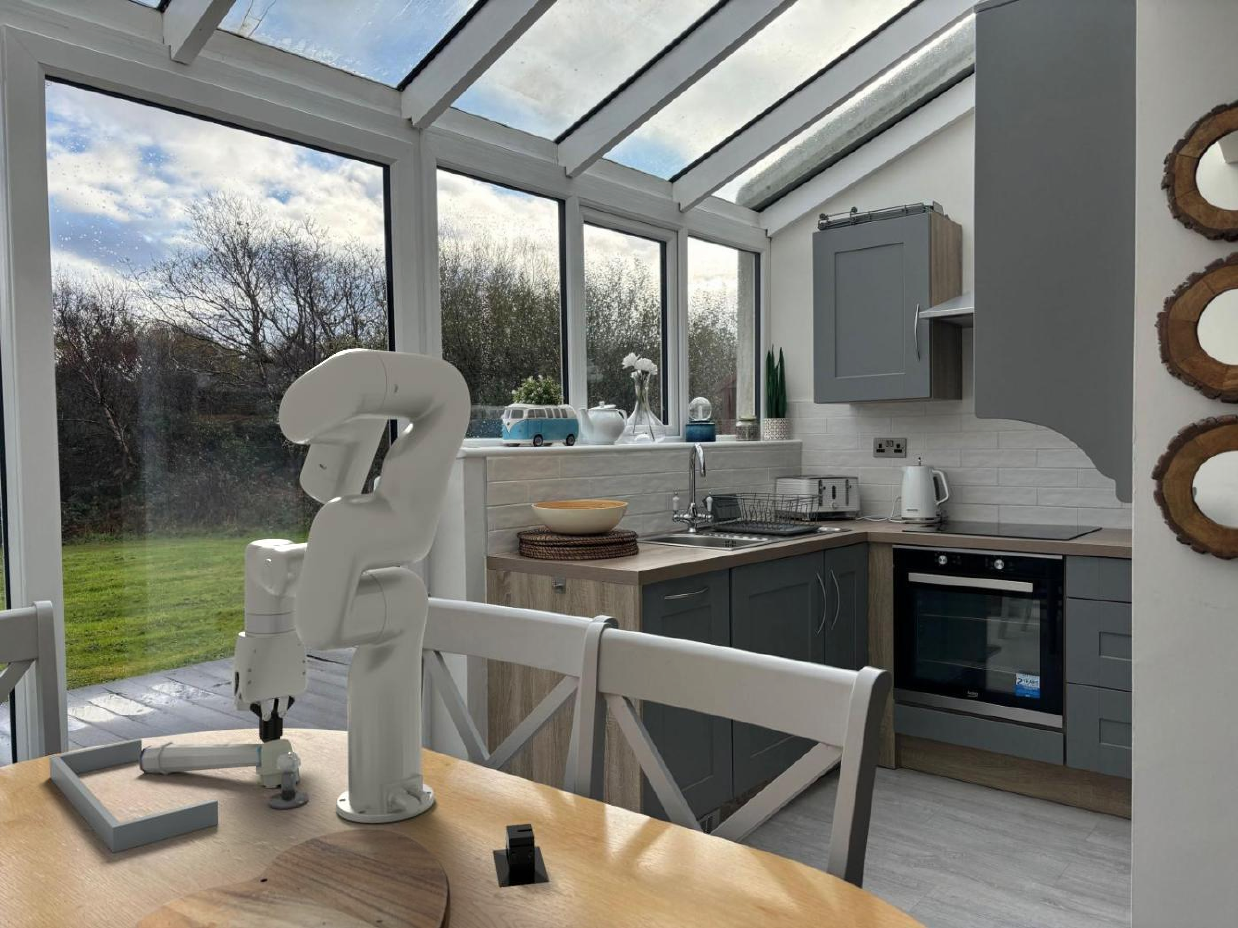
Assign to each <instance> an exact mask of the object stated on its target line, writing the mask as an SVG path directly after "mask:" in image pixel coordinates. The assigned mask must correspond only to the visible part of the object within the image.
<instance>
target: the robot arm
mask: <svg viewBox="0 0 1238 928" xmlns="http://www.w3.org/2000/svg"><path fill="white" fill-rule="evenodd" d="M471 409H472V407H471V396H470V391H469V387H468V384H467V382H466V380H465V378H464V376H463V374H462V373H461V372H460V370H458V369H457V367H456V366H455V365H453V364H452V363H450V362H448V361H446V360H444V359H442V358H439V357H437V356H433V355H427V354H422V353H414V352H402V351H389V350H376V349H370V348H369V349H368V348H354V349H352V348H351V349H346V350H342V351H339V352H337V353H336V354H333V355H332V356H330V357H329V358H327V359H325V360H324V361H323V362H321V363H319V364H317V365H316V366H314V367H313V368H312V369H310V370H309V371H306V372H305V373H304V374H302V375H301V376H300V377H298V378H297V379H296V380H294V382H293V383H291V385H290V386H289V387H288V388H287V390H286V391H285V393H284V395H283V397H282V399H281V403H280V405H279V411H278V423H279V428H280V430H281V432H282V434H283V435H284V437H285V438H286V439H287V440H289V441H290V442H292V443H293V444H298V445H310V446H309V448H308V453H307V455H306V457H305V460H304V464H303V466H302V469H301V472H300V476H299V482H300V486H301V487H302V490H304V492H305V493H306V494H307V495H309V496H310V498H312V499H314V500H316V501H317V502H318V503H321V504H323V506H321V508H320V509H319V511H317V513H316V515H315V517H314V519H313V522H312V524H311V527H310V530H309V534H308V537H307V538H308V539H307V542H304V543H303V542H302V543H301V542H300V543H295V542H294V541H292V540H289V539H282V538H281V539H279V538H277V539H275V538H271V539H270V538H269V539H268V538H267V539H259V540H254V541H252V542H250V543H248V544H247V546H246V547H245V550H244V631H242V632H239V633H238V634H237V638H236V644H235V649H234V655H233V662H232V664H233V665H232V672H231V673H232V674H231V675H232V676H231V693H232V695H233V696H235V698H234V701H233V708H234V710H236V711H239V712H252V713H253V714H254V715H256V717H257V718H258V717H259V718H258V738H259V740H260V741H262V744H264V743H266V742H269V741H273V740H279V739H281V737H283V735H284V717H286V716H287V712H288V710H290V708H291V707H292V706H293V705H294V704H295V703H298V702H300V701H301V700H302V701H303V700H305V699H306V698H307V696H308V692H307V687H308V683H309V681H308V679H309V674H308V673H309V671H308V658H307V657H308V656H307V649H310V650H311V651H316V652H323V653H324V652H325V653H326V652H334V651H340V650H345V649H349V648H350V649H351V648H354V647H356V649H355V651H354V652H353V656H352V657H351V661H350V663H349V667H348V672H347V680H346V684H347V686H346V689H347V690H346V693H347V694H346V696H347V697H346V698H347V699H346V700H347V701H346V703H347V705H346V708H347V714H346V716H347V781H348V782H347V784H348V786H347V790H345V791H344V792H343V793H341V794H340V795H339V797H337V799H336V801H335V810H336V813H337V814H338V815H339V816H340V817H341V818H343V819H345V820H347V821H351V822H356V823H363V824H364V823H365V824H382V823H383V824H384V823H391V822H399V821H402V820H407V819H409V818H413V817H415V816H418V815H421V814H423V813H424V812H426V811H427V810H428V809H429V808H430V807H432V806H433V804H434V802H435V801H434V800H435V792H434V789H433V788H432V787H431V786H429V785H428V784H426V783H424V776H423V755H422V754H423V753H422V752H423V750H422V748H423V747H422V746H423V745H422V742H423V741H422V733H423V731H422V656H423V655H422V653H423V644H424V643H423V641H424V635H425V629H426V625H427V618H428V612H429V595H428V589H427V586H426V584H425V583H424V580H423V579H422V578H421V577H420V576H419V575H418V574H417V573H415V572H414V571H412V570H411V569H408V568H405V567H400V566H406V565H412V564H414V563H415V564H416V563H417V562H420V561H422V560H423V559H424V558H426V556H427V555H428V554H429V552H430V550H431V548H432V546H433V543H434V540H435V536H436V533H437V529H438V525H439V521H440V517H441V513H442V510H443V507H444V503H445V499H446V495H447V491H448V486H449V481H450V477H451V474H452V470H453V467H454V465H455V462H456V460H457V457H458V454H459V452H460V450H461V448H462V445H463V442H464V441H465V437H466V434H467V432H468V428H469V424H470V419H471ZM388 420H408V422H409V424H408V426H407V427H406V428H405V429H404V430H403V431H402V432H401V434H399V436H398V437H396V439H395V440H394V441H393V443H392V444H391V446H390V448H389V449H388V451H387V453H386V455H385V457H384V460H383V462H382V467H381V473H380V475H379V480H378V482H377V485H376V488H375V489H374V490H372V492H370V493H362V492H363V488H364V486H365V484H366V481H367V479H368V478H367V477H368V474H369V472H370V470H371V467H372V464H373V461H374V458H375V455H376V453H377V451H378V448H379V446H380V443H381V440H382V436H383V434H384V431H385V428H386V426H387V422H388ZM271 700H272V702H271V703H272V704H271V709H270V701H271Z"/></svg>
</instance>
